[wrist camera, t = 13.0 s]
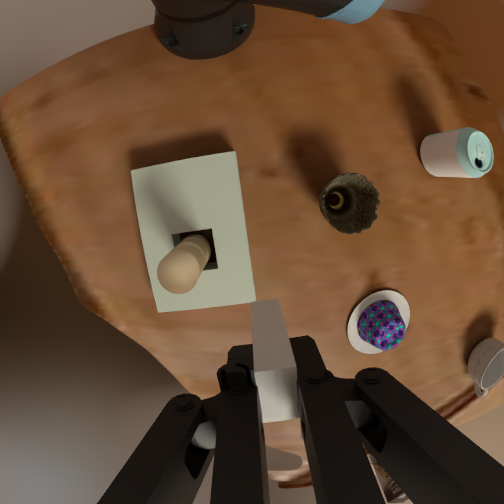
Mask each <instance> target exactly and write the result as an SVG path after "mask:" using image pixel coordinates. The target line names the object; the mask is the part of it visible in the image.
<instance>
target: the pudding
mask: <svg viewBox="0 0 504 504" xmlns="http://www.w3.org/2000/svg"><path fill="white" fill-rule="evenodd" d="M379 300H389V301H388V302H386V303H385V302H384V301H379ZM376 301H377V302H376ZM390 301H392V302H390ZM374 302H375V303H374ZM372 303H374V304H373V306H372V307H368V306H369V305H370V304H372ZM394 303H395V304H396V305H397V307H398V309H399V310H398V309H397V308H396V306H395V304H394ZM362 312H363V313H362ZM361 313H362V318H361V319H360V320H359V321H358V319H359V317H360V315H361ZM409 319H410V309H409V305H408V303H407V300H406V299H405V298H404V297H403V296H402V295H401V294H400V293H397V292H395V291H391V290H384V291H379V292H376V293H373V294H371V295H369V296H368V297H366V298H365V299H364V300H362V301H361V302H360V303H359V304H358V306H357V307H356V308H355V310H354V311H353V313H352V315H351V317H350V320H349V323H348V332H347V333H348V338H349V341H350V343H351V344H352V346H353V347H354V348H355V349H356V350H358V351H360V352H363V353H368V354H373V353H379V352H382V351H385V350H388V349H390V348H395V347H396V346H397V345H398V343H399V342H400V341H402V340H403V338H404V332H405V331H406V328H407V326H408V323H409ZM357 323H358V324H357ZM357 327H358V329H359V330H360V334H359V335H358V332H357ZM359 336H360V337H359ZM362 339H363V340H364V341H366V342H368V343H366V342H364V341H363V340H362Z"/></svg>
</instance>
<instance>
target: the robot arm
mask: <svg viewBox="0 0 504 504" xmlns="http://www.w3.org/2000/svg"><path fill="white" fill-rule="evenodd" d="M151 1H152V2H153V4H154V6H155V8H156V10H155V22H154V26H155V31H156V34H157V36H158V38H159V40H160V41H161V43H162V44H163V46H164V47H165V48H166V49H167V50H168V51H170V52H171V53H173V54H175V55H177V56H180V57H183V58H188V59H209V58H214V57H218V56H221V55H224V54H226V53H228V52H230V51H232V50H234V49H236V48H237V47H238V46H240V45H241V44H242V43H243V42H244V41H245V40H246V39H247V38H248V36H249V35H250V33H251V31H252V29H253V26H254V20H255V9H254V5H253V4H257V5H264V6H271V7H276V8H282V9H287V10H292V11H297V12H302V13H306V14H310V15H314V16H315V17H317V18H320V19H331V20H335V21H339V22H343V23H347V24H354V23H357V22H362V21H364V20H366V19H368V18H369V17H370V16H372V15H373V14H374V13H375V12H376V11H377V10H378V9H379V8H380V6H381V5H382V4H383V2H384V1H385V0H151ZM251 314H252V337H253V344H248V345H239V346H233V347H232V348H231V349H230V351H229V352H228V360H227V364H225V365H223V366H222V367H221V368H219V369H218V371H217V377H218V381H219V385H220V389H221V392H220V393H219V394H217V395H216V396H213V397H211V398H208V399H204V400H201V399H200V398H199V397H198V396H197V395H194V394H181V395H177V396H175V397H173V398H172V399H171V400H170V401H169V402H168V403H167V404H166V406H165V407H164V409H163V410H162V412H161V413H160V414H159V416H158V418H157V419H156V421H155V422H154V423H153V425H152V426H151V428H150V429H149V430H148V432H147V433H146V435H145V436H144V438H143V439H142V441H141V442H140V444H139V445H138V446H137V448H136V449H135V451H134V452H133V454H132V455H131V456H130V458H129V459H128V461H127V462H126V464H125V465H124V466H123V468H122V469H121V471H120V472H119V473H118V475H117V476H116V478H115V479H114V481H113V482H112V483H111V485H110V486H109V488H108V489H107V490H106V492H105V493H104V495H103V496H102V497H101V499H100V500H99V502H98V503H97V504H192V503H193V501H194V499H195V497H196V494H197V491H198V490H199V488H200V485H201V483H202V481H203V479H204V476H205V474H206V472H207V470H208V467H209V465H210V463H211V460H212V458H213V456H214V465H213V476H212V488H211V500H210V504H270V499H269V487H268V474H267V461H266V449H265V436H264V428H263V423H266V422H275V421H282V420H289V419H296V418H301V438H303V439H304V444H305V449H306V454H307V458H308V463H309V468H310V473H311V478H312V483H313V488H314V492H315V497H316V503H317V504H385V501H384V498H383V496H382V493H381V491H380V488H379V485H378V483H377V480H376V478H375V475H374V473H373V470H372V467H371V465H370V462H369V460H368V457H367V455H366V452H365V450H364V447H363V445H364V446H365V447H366V448H367V450H368V451H369V452H370V453H371V455H372V456H373V457H374V458H375V459H376V460H377V462H378V463H379V464H380V465H381V466H382V468H383V469H384V470H385V471H386V472H387V474H388V475H389V476H390V477H391V478H392V479H393V481H394V482H395V483H396V484H397V485H398V486H399V488H400V489H401V490H402V491H403V492H404V493H405V494H406V496H407V497H408V498H409V499H410V500H411V501H412V502H413V504H504V466H502V465H501V464H500V463H499V462H497V461H496V460H495V459H494V458H492V457H491V456H490V455H489V454H487V453H486V452H485V451H484V450H482V449H481V448H480V447H479V446H477V445H476V444H475V443H474V442H472V441H471V440H470V439H469V438H468V437H466V436H465V435H464V434H463V433H461V432H460V431H459V430H458V429H456V428H455V427H454V426H453V425H452V424H450V423H449V422H448V421H447V420H445V419H444V418H443V417H442V416H440V415H439V414H438V413H437V412H436V411H434V410H433V409H432V408H431V407H429V406H428V405H427V404H426V403H425V402H423V401H422V400H421V399H420V398H418V397H417V396H416V395H415V394H413V393H412V392H411V391H410V390H409V389H407V388H406V387H405V386H404V385H403V384H401V383H400V382H399V381H398V380H396V379H395V378H394V377H393V376H392V375H390V374H389V373H388V372H387V371H385V370H383V369H380V368H376V367H374V368H366V369H363V370H361V371H359V372H358V373H357V374H356V376H355V379H344V378H338V377H335V376H334V375H333V374H332V373H331V371H329V370H327V369H326V367H325V365H324V362H323V360H322V357H321V355H320V353H319V350H318V348H317V345H316V343H315V341H314V339H312V338H311V337H309V336H308V335H307V336H301V337H294V338H289V337H288V333H287V329H286V326H285V322H284V318H283V315H282V311H281V307H280V304H279V300H278V298H277V299H269V300H262V301H254V302H251ZM299 414H300V415H299ZM362 444H363V445H362Z"/></svg>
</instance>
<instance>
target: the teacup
mask: <svg viewBox="0 0 504 504" xmlns="http://www.w3.org/2000/svg"><path fill="white" fill-rule="evenodd" d="M467 369H468V374H469V376H470V377H471V378H472V379H473V380H474V381H475V392H476V394H477V396H479V397H483V396H485V395H486V394H487V393H488V389H489V388H491V387H492V386H493V385H495V384H496V383H497V382H498V381H499V380H500V378H501V377H502V376H503V374H504V343H502V342H501V341H499V340H497V339H495V338H487V339H485V340H483V341H481V342H480V343H478V344H477V345H476V346H475V348H474V349H473V350H472V352H471V354H470V356H469V360H468V367H467ZM480 387H481V388H482V389H483V390H484V391H483V393H482V392H481V390H480Z"/></svg>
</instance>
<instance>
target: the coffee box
mask: <svg viewBox="0 0 504 504" xmlns="http://www.w3.org/2000/svg"><path fill="white" fill-rule="evenodd" d="M370 459H371V461H372V464H373V466H374V469H375V471H376V474H377V476H378V479H379V481H380V484H381V486H382V489H383V491H384V494H385V497H386V499H387V502H388V503H399V502H404V501H406V500H407V499H409V498H408V497H407V496H406V494H405V493H404V492H403V491H402V490H401V489H400V488H399V486H398V485H397V484H396V483H395V482H394V481H393V479H392V478H391V477H390V476H389V475H388V474H387V472H386V471H385V470H384V469H383V468H382V466H381V465H380V464H379V463H378V462H377V460H376V459H375V458H374V457H373V456H372V455H370Z"/></svg>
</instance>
